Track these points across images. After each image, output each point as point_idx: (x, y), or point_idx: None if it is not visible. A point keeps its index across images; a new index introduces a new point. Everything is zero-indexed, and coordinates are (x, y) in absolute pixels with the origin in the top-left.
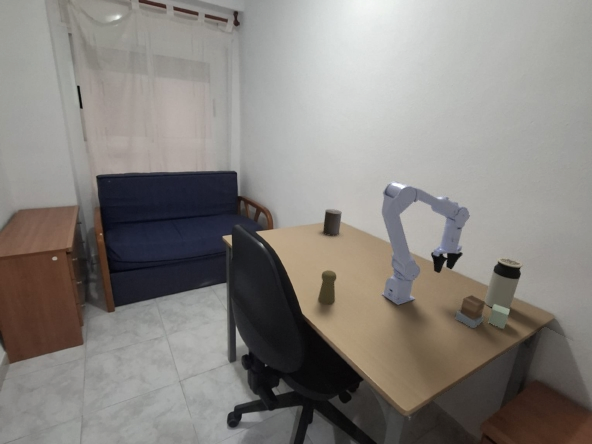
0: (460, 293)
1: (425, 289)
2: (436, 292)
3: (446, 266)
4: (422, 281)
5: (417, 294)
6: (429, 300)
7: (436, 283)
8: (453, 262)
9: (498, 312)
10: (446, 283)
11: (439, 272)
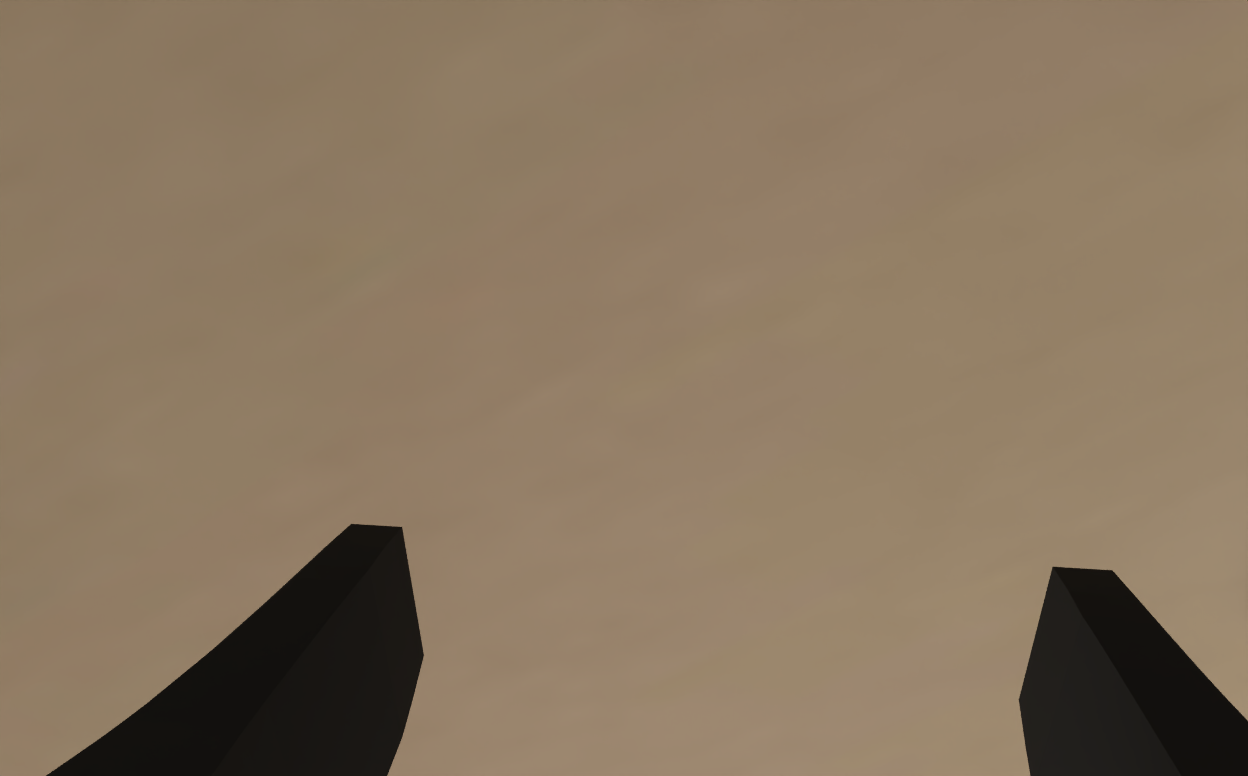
0: (245, 40)
1: (799, 426)
2: (702, 279)
3: (417, 678)
4: (592, 585)
5: (1124, 391)
6: (1148, 160)
7: (406, 455)
8: (274, 731)
9: None
10: (218, 380)
11: (1101, 579)
